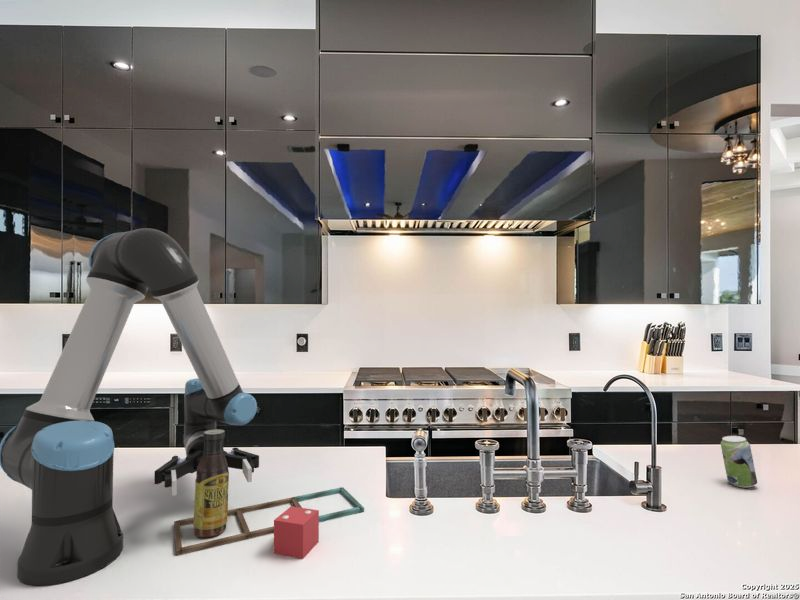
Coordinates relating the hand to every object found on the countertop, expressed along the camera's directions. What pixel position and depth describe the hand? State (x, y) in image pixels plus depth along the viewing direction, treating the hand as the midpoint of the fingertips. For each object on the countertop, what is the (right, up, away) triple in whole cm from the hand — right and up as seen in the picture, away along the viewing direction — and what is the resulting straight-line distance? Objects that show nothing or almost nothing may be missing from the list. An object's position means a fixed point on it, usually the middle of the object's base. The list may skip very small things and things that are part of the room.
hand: (213, 481), depth 87 cm
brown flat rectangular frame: (+9, -11, +8) cm, 17 cm away
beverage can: (+122, -12, +26) cm, 125 cm away
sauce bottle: (-2, -11, +3) cm, 12 cm away
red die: (+17, -11, -3) cm, 21 cm away
